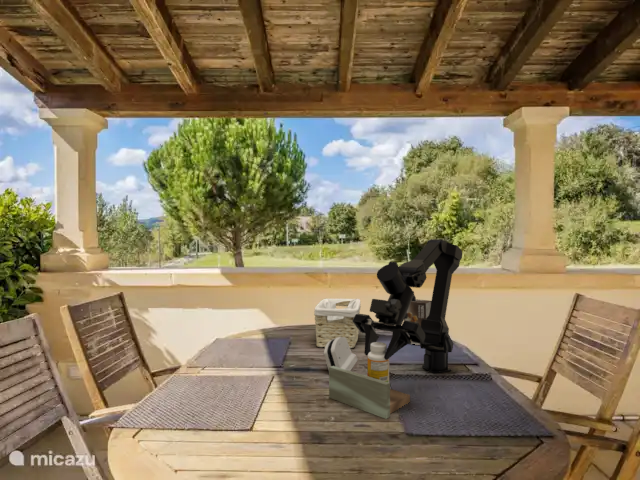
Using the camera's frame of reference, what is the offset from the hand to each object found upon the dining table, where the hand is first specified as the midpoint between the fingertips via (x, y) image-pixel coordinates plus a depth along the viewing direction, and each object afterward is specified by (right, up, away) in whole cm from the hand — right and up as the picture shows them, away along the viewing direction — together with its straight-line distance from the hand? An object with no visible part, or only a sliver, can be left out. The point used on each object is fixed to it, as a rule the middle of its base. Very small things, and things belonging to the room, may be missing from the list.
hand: (375, 356), depth 108 cm
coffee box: (+23, -10, +56) cm, 61 cm away
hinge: (-7, -12, +30) cm, 33 cm away
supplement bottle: (+1, -7, +1) cm, 7 cm away
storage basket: (-6, -10, +61) cm, 62 cm away
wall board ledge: (-1, -12, +3) cm, 13 cm away
